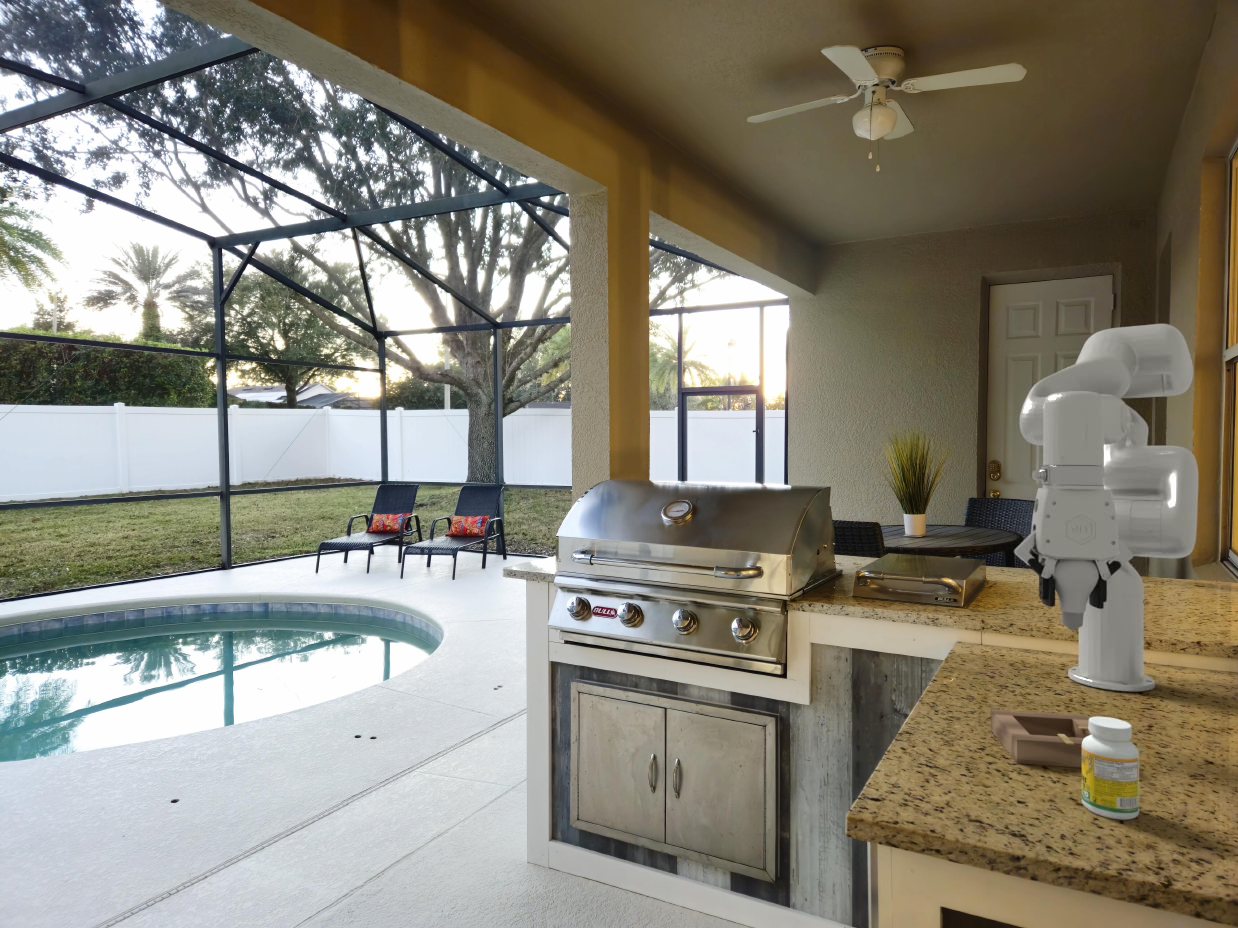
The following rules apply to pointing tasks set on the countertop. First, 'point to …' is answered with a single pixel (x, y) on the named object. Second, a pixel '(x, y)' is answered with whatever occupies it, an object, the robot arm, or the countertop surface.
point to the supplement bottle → (1110, 769)
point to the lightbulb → (1074, 588)
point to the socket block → (1041, 736)
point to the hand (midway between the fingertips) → (1072, 604)
